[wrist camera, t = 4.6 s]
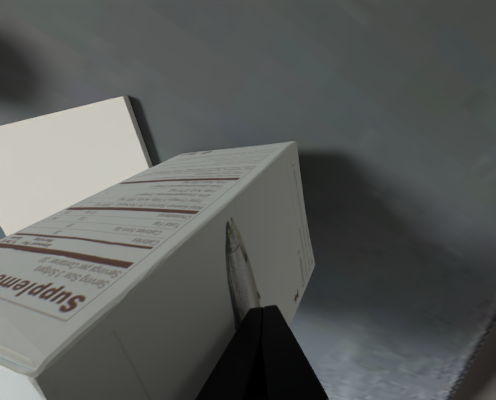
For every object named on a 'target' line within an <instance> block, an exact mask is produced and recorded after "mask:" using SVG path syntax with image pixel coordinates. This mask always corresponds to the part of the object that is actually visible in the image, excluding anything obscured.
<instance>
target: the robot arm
mask: <svg viewBox="0 0 496 400" xmlns="http://www.w3.org/2000/svg"><path fill="white" fill-rule="evenodd" d="M195 400H329V398H328V396H327V394H326V392H325V391H324V389H323V387H322V385H321V383H320V382H319V380H318V378H317V376H316V374H315V373H314V371H313V369H312V367H311V365H310V364H309V362H308V360H307V358H306V356H305V355H304V353H303V351H302V349H301V347H300V346H299V344H298V342H297V340H296V338H295V337H294V335H293V333H292V331H291V329H290V328H289V326H288V324H287V322H286V320H285V319H284V317H283V315H282V313H281V311H280V310H279V308H278V306H277V305H269V306H264V308H263V307H254V308H250V309H249V310H248V312H247V314H246V315H245V317H244V319H243V320H242V322H241V324H240V325H239V327H238V329H237V330H236V332H235V334H234V335H233V337H232V339H231V340H230V342H229V344H228V345H227V347H226V349H225V350H224V352H223V354H222V355H221V357H220V359H219V360H218V362H217V364H216V365H215V367H214V369H213V370H212V372H211V374H210V375H209V377H208V379H207V380H206V382H205V384H204V385H203V387H202V389H201V390H200V392H199V394H198V395H197V397H196V399H195Z"/></svg>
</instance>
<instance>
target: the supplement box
mask: <svg viewBox="0 0 496 400" xmlns="http://www.w3.org/2000/svg"><path fill="white" fill-rule="evenodd" d="M314 267H315V261H314V256H313V251H312V246H311V241H310V236H309V230H308V225H307V218H306V211H305V205H304V197H303V190H302V182H301V175H300V167H299V158H298V147H297V142H295V141H291V142H285V143H276V144H268V145H258V146H249V147H239V148H230V149H221V150H211V151H201V152H193V153H184V154H180V155H178V156H175V157H173V158H171V159H169V160H167V161H165V162H163V163H160V164H158V165H156V166H154V167H151V168H149V169H147V170H145V171H142V172H140V173H138V174H136V175H134V176H132V177H130V178H128V179H126V180H123V181H121V182H119V183H117V184H115V185H113V186H111V187H109V188H107V189H105V190H103V191H100V192H98V193H96V194H94V195H92V196H90V197H88V198H86V199H84V200H81V201H79V202H77V203H75V204H73V205H71V206H69V207H67V208H65V209H63V210H61V211H59V212H57V213H55V214H53V215H51V216H49V217H47V218H45V219H43V220H40V221H38V222H36V223H34V224H32V225H30V226H28V227H26V228H24V229H22V230H19V231H17V232H15V233H13V234H11V235H9V236H7V237H5V238H3V239H0V400H195V399H196V397H197V395H198V394H199V392H200V390H201V389H202V387H203V385H204V384H205V382H206V380H207V379H208V377H209V375H210V374H211V372H212V370H213V369H214V367H215V365H216V364H217V362H218V360H219V359H220V357H221V355H222V354H223V352H224V350H225V349H226V347H227V345H228V344H229V342H230V340H231V339H232V337H233V335H234V334H235V332H236V330H237V329H238V327H239V325H240V324H241V322H242V320H243V319H244V317H245V315H246V314H247V312H248V310H249V309H250V308H254V307H263V308H264V306H269V305H277V306H278V308H279V310H280V311H281V313H282V315H283V317H284V319H285V320H286V322H287V324H288V326H289V328H290V325H291V323H292V320H293V318H294V316H295V313H296V311H297V308H298V306H299V304H300V301H301V299H302V297H303V294H304V292H305V289H306V287H307V284H308V282H309V279H310V277H311V274H312V272H313V270H314Z"/></svg>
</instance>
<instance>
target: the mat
mask: <svg viewBox="0 0 496 400" xmlns="http://www.w3.org/2000/svg"><path fill="white" fill-rule="evenodd" d="M151 167H153V165H152V162H151V160H150V157H149V154H148V151H147V148H146V146H145V143H144V140H143V137H142V134H141V132H140V129H139V126H138V123H137V120H136V117H135V115H134V112H133V109H132V106H131V103H130V101H129V98H128V95H127V96H121V97H117V98H113V99H109V100H105V101H101V102H97V103H93V104H89V105H85V106H80V107H76V108H72V109H68V110H64V111H60V112H56V113H52V114H48V115H43V116H39V117H35V118H31V119H27V120H23V121H19V122H15V123H11V124H6V125H2V126H0V226H1V228H2V229H3V231H4V233H5V234H6V236H9V235H11V234H13V233H15V232H17V231H19V230H22V229H24V228H26V227H28V226H30V225H32V224H34V223H36V222H38V221H40V220H43V219H45V218H47V217H49V216H51V215H53V214H55V213H57V212H59V211H61V210H63V209H65V208H67V207H69V206H71V205H73V204H75V203H77V202H79V201H81V200H84V199H86V198H88V197H90V196H92V195H94V194H96V193H98V192H100V191H103V190H105V189H107V188H109V187H111V186H113V185H115V184H117V183H119V182H121V181H123V180H126V179H128V178H130V177H132V176H134V175H136V174H138V173H140V172H142V171H145V170H147V169H149V168H151Z"/></svg>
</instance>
